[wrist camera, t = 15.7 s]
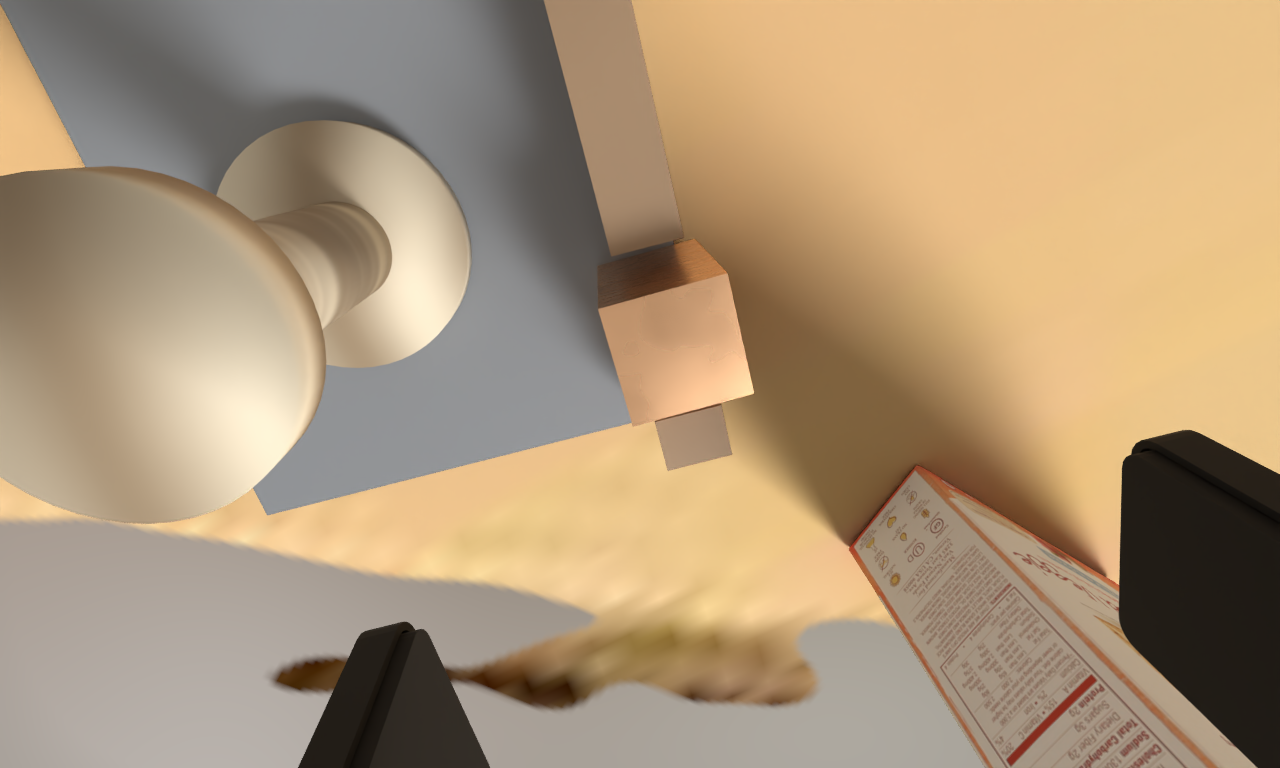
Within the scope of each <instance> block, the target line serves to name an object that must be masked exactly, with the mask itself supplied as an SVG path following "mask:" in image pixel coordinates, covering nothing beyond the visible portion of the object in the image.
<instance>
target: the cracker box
mask: <svg viewBox="0 0 1280 768" xmlns="http://www.w3.org/2000/svg"><path fill="white" fill-rule="evenodd" d="M849 551H850V552H851V554H852V555H853V557H854V558H855V560H856V562H857V563H858V565H859V566H860V568H861V570H862V571H863V573H864V574H865V576H866V577H867V579H868V580H869V582H870V583H871V585H872V587H873V588H874V590H875V592H876V593H877V595H878V597H879V598H880V600H881V602H882V603H883V605H884V607H885V608H886V610H887V611H888V613H889V614H890V616H891V618H892V619H893V621H894V622H895V624H896V626H897V627H898V629H899V630H900V632H901V633H902V635H903V637H904V638H905V640H906V641H907V643H908V645H909V646H910V648H911V649H912V651H913V653H914V654H915V656H916V657H917V659H918V661H919V662H920V664H921V665H922V667H923V669H924V670H925V672H926V673H927V675H928V677H929V678H930V680H931V682H932V683H933V685H934V686H935V688H936V690H937V691H938V693H939V694H940V696H941V698H942V699H943V701H944V702H945V704H946V706H947V707H948V709H949V710H950V712H951V714H952V715H953V717H954V719H955V720H956V722H957V723H958V725H959V727H960V728H961V730H962V731H963V733H964V735H965V736H966V738H967V740H968V741H969V743H970V744H971V746H972V747H973V749H974V751H975V752H976V754H977V755H978V757H979V759H980V760H981V762H982V763H983V765H984V767H985V768H1257V767H1256V766H1255V765H1254V764H1253V763H1252V762H1251V761H1250V760H1249V759H1248V758H1247V757H1246V756H1245V755H1244V754H1243V753H1242V752H1241V751H1240V750H1239V749H1238V748H1237V747H1235V746H1234V745H1233V744H1232V743H1231V742H1230V741H1229V740H1228V739H1227V738H1226V737H1225V736H1224V735H1223V734H1222V733H1221V732H1220V731H1219V730H1218V729H1217V728H1216V727H1215V726H1214V725H1213V724H1212V723H1211V722H1210V721H1209V720H1208V719H1207V718H1206V717H1205V716H1204V715H1203V714H1202V713H1201V712H1200V711H1199V710H1197V709H1196V708H1195V707H1194V706H1193V705H1192V704H1191V703H1190V702H1189V701H1188V700H1187V699H1186V698H1185V697H1184V696H1183V695H1182V694H1181V693H1180V692H1179V691H1178V690H1177V689H1176V688H1175V687H1174V686H1173V685H1172V684H1171V683H1170V682H1169V681H1168V680H1167V679H1166V678H1165V677H1164V676H1163V675H1162V674H1161V673H1160V672H1158V671H1157V670H1156V669H1155V668H1154V667H1153V666H1152V665H1151V664H1150V663H1149V662H1148V661H1147V660H1146V659H1145V658H1144V657H1143V656H1142V655H1141V654H1140V653H1139V652H1138V651H1137V650H1136V649H1135V648H1134V647H1133V646H1132V645H1131V644H1130V642H1129V641H1128V639H1127V638H1126V636H1125V635H1124V633H1123V631H1122V628H1121V625H1120V622H1119V585H1118V584H1116V583H1115V582H1113V581H1112V580H1110V579H1108V578H1106V577H1105V576H1103V575H1101V574H1099V573H1098V572H1096V571H1094V570H1093V569H1091V568H1089V567H1088V566H1086V565H1085V564H1083V563H1081V562H1080V561H1078V560H1076V559H1075V558H1073V557H1071V556H1070V555H1068V554H1066V553H1065V552H1063V551H1061V550H1060V549H1058V548H1056V547H1054V546H1053V545H1051V544H1049V543H1048V542H1046V541H1044V540H1043V539H1041V538H1039V537H1038V536H1036V535H1034V534H1033V533H1031V532H1029V531H1028V530H1026V529H1024V528H1023V527H1021V526H1019V525H1018V524H1016V523H1014V522H1013V521H1011V520H1010V519H1008V518H1006V517H1005V516H1003V515H1001V514H1000V513H998V512H996V511H995V510H993V509H991V508H990V507H988V506H986V505H985V504H983V503H981V502H980V501H978V500H976V499H975V498H973V497H971V496H970V495H968V494H966V493H965V492H963V491H961V490H959V489H958V488H956V487H954V486H953V485H951V484H950V483H948V482H946V481H945V480H943V479H941V478H940V477H938V476H936V475H935V474H933V473H931V472H930V471H928V470H926V469H924V468H923V467H921V466H919V465H917V466H915V468H914V469H913V470H912V471H911V472H910V474H909V475H908V476H907V477H906V479H905V480H904V481H903V482H902V484H901V485H900V486H899V487H898V489H897V490H896V491H895V492H894V494H893V495H892V496H891V497H890V498H889V500H888V501H887V502H886V503H885V504H884V506H883V507H882V508H881V509H880V511H879V512H878V513H877V514H876V516H875V517H874V518H873V519H872V521H871V522H870V523H869V524H868V526H867V527H866V528H865V529H864V530H863V532H862V533H861V534H860V535H859V537H858V538H857V539H856V540H855V542H854V543H853V544H852V545H851V547H850V548H849Z"/></svg>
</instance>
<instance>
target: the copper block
mask: <svg viewBox="0 0 1280 768" xmlns="http://www.w3.org/2000/svg"><path fill="white" fill-rule="evenodd" d="M597 285H598V311H599V314H600V317H601V321H602V324H603V328H604V331H605V334H606V338H607V341H608V344H609V348H610V351H611V354H612V358H613V361H614V365H615V368H616V371H617V375H618V378H619V381H620V385H621V388H622V392H623V395H624V398H625V402H626V405H627V408H628V412H629V415H630V418H631V422H632V425H633V426H637V425H641V424H644V423H648V422H652V421H655V420H659V419H663V418H666V417H670V416H674V415H677V414H681V413H685V412H689V411H692V410H696V409H700V408H703V407H707V406H711V405H714V404H718V403H722V402H726V401H729V400H733V399H737V398H740V397H744V396H748V395H751V394H754V390H753V386H752V381H751V377H750V372H749V368H748V363H747V359H746V354H745V350H744V345H743V341H742V336H741V331H740V327H739V322H738V318H737V313H736V309H735V304H734V300H733V295H732V291H731V286H730V282H729V277H728V273H727V272H726V271H725V270H724V269H723V268H722V267H721V266H720V265H719V264H718V263H717V261H716V260H715V259H714V258H713V257H712V256H711V255H710V254H709V253H708V252H707V251H706V250H705V249H704V248H703V247H702V246H701V245H700V244H699V242H698V241H697V240H696V239H692V240H688V241H684V242H681V243H677V244H674V245H670V246H666V247H663V248H659V249H656V250H652V251H649V252H645V253H641V254H638V255H634V256H631V257H627V258H623V259H620V260H616V261H613V262H609V263H606V264H602V265H598V266H597Z"/></svg>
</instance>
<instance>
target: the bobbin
mask: <svg viewBox="0 0 1280 768" xmlns="http://www.w3.org/2000/svg"><path fill="white" fill-rule="evenodd" d="M471 265H472V246H471V238H470V232H469V228H468V224H467V220H466V217H465V214H464V212H463V209H462V207H461V204H460V202H459V200H458V198H457V197H456V195H455V193H454V191H453V189H452V188H451V186H450V185H449V183H448V182H447V181H446V179H445V178H444V176H443V175H442V174H441V173H440V171H439V170H438V169H437V168H436V167H435V166H434V165H433V164H432V163H431V162H430V161H429V160H428V159H427V158H426V157H425V156H424V155H422V154H421V153H420V152H419V151H418V150H417V149H415V148H414V147H412V146H411V145H409V144H408V143H406V142H405V141H403V140H401V139H399V138H397V137H395V136H394V135H392V134H390V133H388V132H385V131H383V130H380V129H377V128H374V127H371V126H368V125H363V124H359V123H354V122H344V121H329V120H319V121H304V122H299V123H294V124H289V125H286V126H284V127H281V128H278V129H275V130H273V131H271V132H269V133H267V134H265V135H263V136H262V137H260V138H258V139H257V140H256V141H254V142H253V143H252V144H250V145H249V146H248V147H246V148H245V149H244V150H243V151H242V153H241V154H240V155H239V156H238V157H237V158H236V159H235V160H234V162H233V163H232V164H231V166H230V167H229V169H228V170H227V172H226V173H225V176H224V178H223V180H222V182H221V184H220V186H219V189H218V192H217V195H214V194H212V193H211V192H208V191H206V190H204V189H202V188H200V187H197V186H195V185H193V184H191V183H189V182H187V181H184V180H180V179H177V178H174V177H171V176H168V175H165V174H162V173H158V172H153V171H148V170H143V169H138V168H129V167H116V166H104V167H85V168H70V169H55V170H41V171H26V172H20V173H15V174H10V175H5V176H0V477H1V478H3V479H4V480H5V481H7V482H8V483H10V484H12V485H14V486H15V487H17V488H19V489H21V490H22V491H24V492H26V493H28V494H29V495H31V496H34V497H36V498H38V499H40V500H42V501H45V502H47V503H49V504H51V505H53V506H56V507H59V508H62V509H65V510H68V511H71V512H74V513H77V514H80V515H84V516H89V517H93V518H97V519H101V520H108V521H115V522H122V523H141V524H152V523H166V522H174V521H180V520H185V519H190V518H194V517H197V516H201V515H204V514H207V513H210V512H213V511H215V510H217V509H219V508H221V507H223V506H226V505H228V504H230V503H232V502H233V501H235V500H236V499H238V498H239V497H241V496H242V495H244V494H245V493H247V492H248V491H250V490H251V489H252V488H253V487H254V486H255V485H256V484H257V483H258V482H260V481H261V480H262V479H263V478H264V477H265V476H266V475H267V474H268V473H269V472H270V471H271V470H272V469H273V468H274V466H275V465H276V464H277V463H278V462H279V461H280V460H281V459H282V458H283V457H284V456H285V455H286V454H287V453H288V452H289V451H290V450H291V449H292V448H293V447H294V445H295V444H296V443H297V442H298V441H299V439H300V438H301V437H302V436H303V434H304V433H305V432H306V430H307V428H308V427H309V425H310V423H311V422H312V420H313V418H314V416H315V414H316V411H317V409H318V406H319V403H320V401H321V398H322V393H323V388H324V384H325V376H326V364H327V365H332V366H338V367H348V368H365V367H375V366H381V365H386V364H390V363H393V362H396V361H399V360H402V359H404V358H406V357H408V356H410V355H412V354H414V353H416V352H417V351H419V350H420V349H422V348H423V347H425V346H426V345H427V344H429V343H430V342H431V341H432V340H433V339H434V338H435V337H436V336H437V335H438V334H439V333H440V332H441V331H442V329H443V328H444V327H445V326H446V325H447V323H448V322H449V321H450V320H451V318H452V317H453V315H454V314H455V312H456V311H457V309H458V307H459V306H460V304H461V302H462V299H463V297H464V295H465V293H466V290H467V286H468V282H469V279H470V272H471Z"/></svg>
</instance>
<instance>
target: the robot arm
mask: <svg viewBox="0 0 1280 768" xmlns="http://www.w3.org/2000/svg"><path fill="white" fill-rule="evenodd" d="M1119 622H1120V625H1121V628H1122V631H1123V633H1124V635H1125V636H1126V638H1127V639H1128V641H1129V642H1130V644H1131V645H1132V646H1133V647H1134V648H1135V649H1136V650H1137V651H1138V652H1139V653H1140V654H1141V655H1142V656H1143V657H1144V658H1145V659H1146V660H1147V661H1148V662H1149V663H1150V664H1151V665H1152V666H1153V667H1154V668H1155V669H1156V670H1157V671H1158V672H1160V673H1161V674H1162V675H1163V676H1164V677H1165V678H1166V679H1167V680H1168V681H1169V682H1170V683H1171V684H1172V685H1173V686H1174V687H1175V688H1176V689H1177V690H1178V691H1179V692H1180V693H1181V694H1182V695H1183V696H1184V697H1185V698H1186V699H1187V700H1188V701H1189V702H1190V703H1191V704H1192V705H1193V706H1194V707H1195V708H1196V709H1197V710H1199V711H1200V712H1201V713H1202V714H1203V715H1204V716H1205V717H1206V718H1207V719H1208V720H1209V721H1210V722H1211V723H1212V724H1213V725H1214V726H1215V727H1216V728H1217V729H1218V730H1219V731H1220V732H1221V733H1222V734H1223V735H1224V736H1225V737H1226V738H1227V739H1228V740H1229V741H1230V742H1231V743H1232V744H1233V745H1234V746H1235V747H1237V748H1238V749H1239V750H1240V751H1241V752H1242V753H1243V754H1244V755H1245V756H1246V757H1247V758H1248V759H1249V760H1250V761H1251V762H1252V763H1253V764H1254V765H1255V766H1256V767H1257V768H1280V474H1278V473H1276V472H1274V471H1272V470H1270V469H1268V468H1266V467H1264V466H1262V465H1260V464H1258V463H1256V462H1255V461H1253V460H1251V459H1249V458H1247V457H1245V456H1243V455H1241V454H1239V453H1237V452H1235V451H1233V450H1231V449H1229V448H1227V447H1225V446H1223V445H1221V444H1219V443H1218V442H1216V441H1214V440H1212V439H1210V438H1208V437H1206V436H1204V435H1202V434H1200V433H1197V432H1195V431H1192V430H1182V431H1178V432H1174V433H1170V434H1166V435H1162V436H1158V437H1153V438H1149V439H1145V440H1141V441H1140V442H1138V443H1136V444H1135V446H1134V447H1133V449H1132V453H1131V455H1129V456H1128V457H1126V458H1125V460H1124V461H1123V465H1122V494H1121V536H1120V578H1119ZM298 768H490V766H489V764H488V762H487V760H486V757H485V755H484V753H483V751H482V749H481V747H480V744H479V742H478V740H477V738H476V736H475V734H474V732H473V729H472V727H471V725H470V723H469V721H468V718H467V716H466V714H465V712H464V710H463V708H462V706H461V703H460V701H459V699H458V697H457V695H456V693H455V690H454V688H453V686H452V684H451V682H450V680H449V677H448V675H447V673H446V671H445V669H444V667H443V665H442V662H441V660H440V658H439V656H438V654H437V652H436V649H435V647H434V645H433V643H432V641H431V639H430V637H429V635H428V633H427V632H426V631H425V630H424V629H419V630H415V629H414V628H413V626H412V625H411V624H410V623H408V622H400V623H397V624H392V625H388V626H384V627H380V628H376V629H372V630H368V631H365V632H363V633H361V635H360V636H359V638H358V639H357V641H356V643H355V645H354V648H353V649H352V652H351V654H350V656H349V658H348V660H347V662H346V665H345V667H344V669H343V671H342V673H341V675H340V678H339V680H338V682H337V684H336V686H335V689H334V691H333V693H332V695H331V697H330V699H329V702H328V704H327V706H326V709H325V710H324V712H323V715H322V717H321V719H320V721H319V724H318V726H317V728H316V730H315V732H314V735H313V736H312V739H311V741H310V743H309V745H308V747H307V750H306V752H305V754H304V756H303V758H302V760H301V763H300V765H299V767H298Z"/></svg>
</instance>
